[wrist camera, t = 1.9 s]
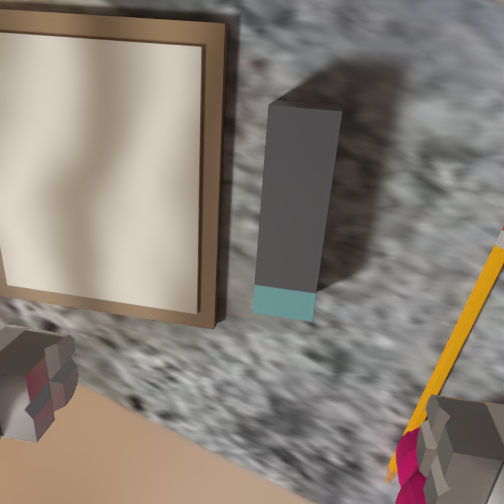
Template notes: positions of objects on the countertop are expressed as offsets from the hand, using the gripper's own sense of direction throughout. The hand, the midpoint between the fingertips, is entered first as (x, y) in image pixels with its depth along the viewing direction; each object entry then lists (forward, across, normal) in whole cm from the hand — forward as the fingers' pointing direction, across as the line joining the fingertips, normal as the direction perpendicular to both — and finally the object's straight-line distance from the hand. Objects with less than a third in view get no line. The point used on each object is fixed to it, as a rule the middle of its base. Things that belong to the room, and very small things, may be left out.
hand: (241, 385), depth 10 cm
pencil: (+14, -10, +9) cm, 20 cm away
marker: (+14, 0, 0) cm, 14 cm away
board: (+14, +11, 0) cm, 18 cm away
